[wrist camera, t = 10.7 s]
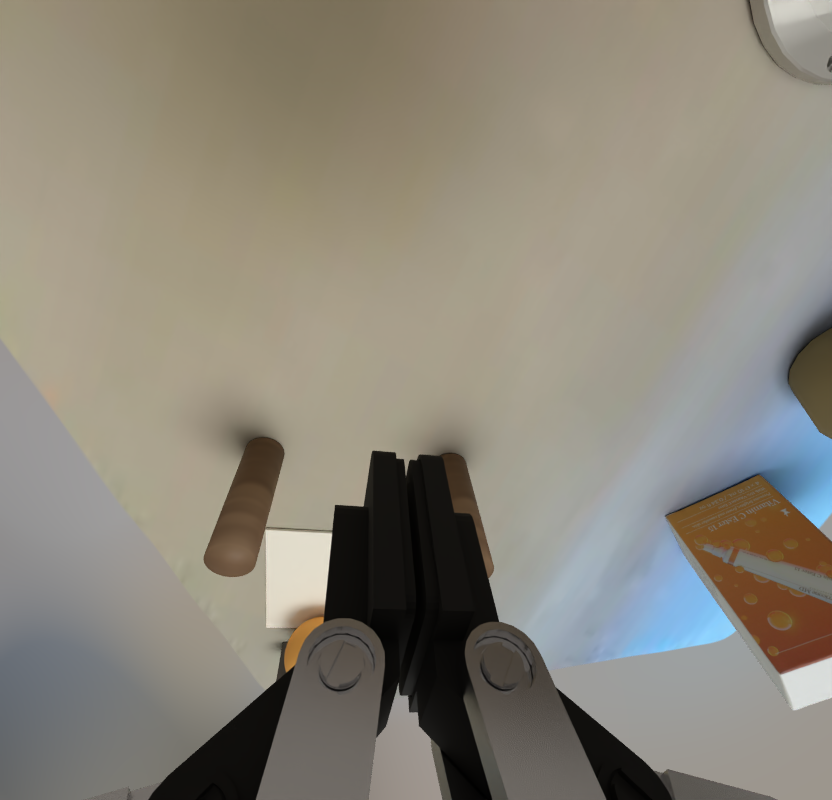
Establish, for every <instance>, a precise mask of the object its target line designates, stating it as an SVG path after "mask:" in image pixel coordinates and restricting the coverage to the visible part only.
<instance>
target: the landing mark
mask: <svg viewBox="0 0 832 800" xmlns="http://www.w3.org/2000/svg"><path fill="white" fill-rule="evenodd" d="M331 540H332V531H314V530H295V529H276V528H266V627H269V628H298V627H299V626H300V625H301V624H302V623H304V622H305V621H307V620H309V619H312V618H315V617H324V610H325V600H326V590H327V580H328V570H329V560H330V550H331Z"/></svg>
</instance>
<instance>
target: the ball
mask: <svg viewBox="0 0 832 800" xmlns="http://www.w3.org/2000/svg"><path fill="white" fill-rule="evenodd" d="M323 620H324V617H315V618H312V619H309V620H307V621H305V622H304V623H302V624H301V625H300V626H299V627H298V628H297V629H296V630H295V631H294V632H293V634H292V635H291V637H290V639H289V641H288V643H287V646H286V649H285V655H284V664H285V670H286V672H288V671H289V670H290V669H291V668H292V667H293V666H294V665H295V664H296V661H297V658H298V654H299V651H300V649H301V647H302V645H303V642H304V640H305V639H306V637H307V636H308V635H309V634H310V633H311V632H312V631H313V630H314V629H315V628H316V627H318V626H319V625H321V624H323Z"/></svg>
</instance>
